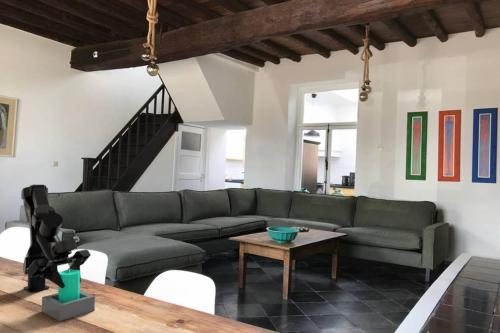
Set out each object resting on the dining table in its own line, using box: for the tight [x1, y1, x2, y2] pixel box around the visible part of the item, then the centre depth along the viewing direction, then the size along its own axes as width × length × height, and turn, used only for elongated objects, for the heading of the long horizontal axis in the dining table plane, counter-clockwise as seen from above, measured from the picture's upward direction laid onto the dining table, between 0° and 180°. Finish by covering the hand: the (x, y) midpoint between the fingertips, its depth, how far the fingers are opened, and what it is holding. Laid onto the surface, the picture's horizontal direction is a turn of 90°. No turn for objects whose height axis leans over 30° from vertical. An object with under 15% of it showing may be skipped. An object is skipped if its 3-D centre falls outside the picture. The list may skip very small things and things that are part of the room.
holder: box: [41, 289, 96, 322], centre depth 120 cm, size 11×11×4 cm
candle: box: [58, 266, 81, 303], centre depth 120 cm, size 6×6×12 cm
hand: (71, 285), depth 119 cm, fingers closed on candle, 5 cm apart
